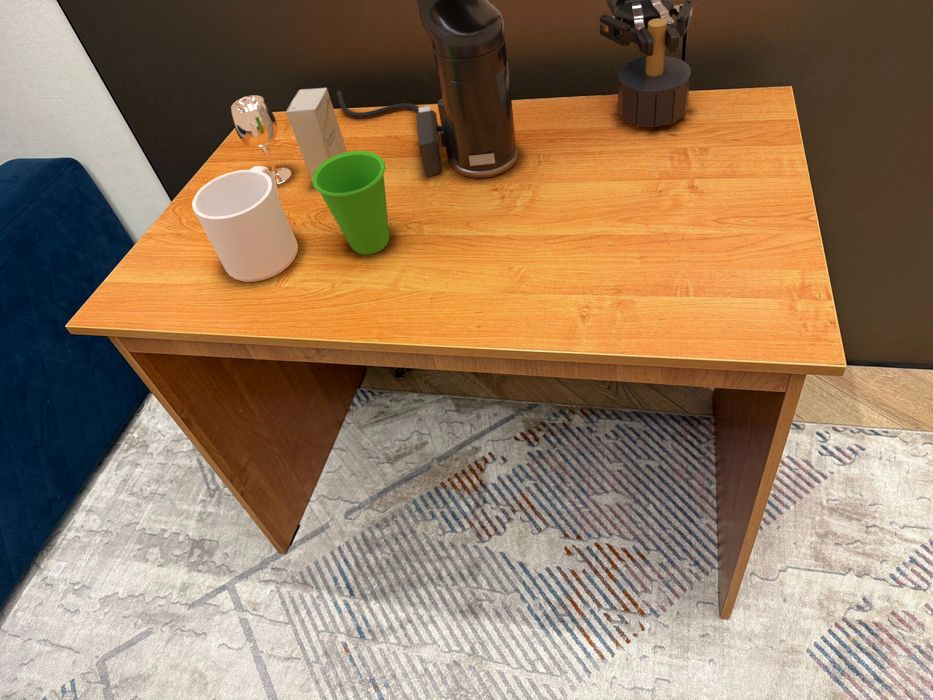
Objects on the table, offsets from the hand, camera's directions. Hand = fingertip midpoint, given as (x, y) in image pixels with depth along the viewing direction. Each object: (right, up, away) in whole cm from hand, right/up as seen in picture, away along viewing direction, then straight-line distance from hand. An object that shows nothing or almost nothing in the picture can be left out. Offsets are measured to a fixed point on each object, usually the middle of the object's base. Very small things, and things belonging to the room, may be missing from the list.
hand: (662, 47), depth 92 cm
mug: (-53, -27, +2) cm, 59 cm away
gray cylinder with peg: (+1, -5, +10) cm, 11 cm away
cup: (-38, -26, 0) cm, 46 cm away
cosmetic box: (-46, -14, +12) cm, 49 cm away
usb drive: (-33, -9, +10) cm, 36 cm away
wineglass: (-55, -14, +14) cm, 58 cm away
